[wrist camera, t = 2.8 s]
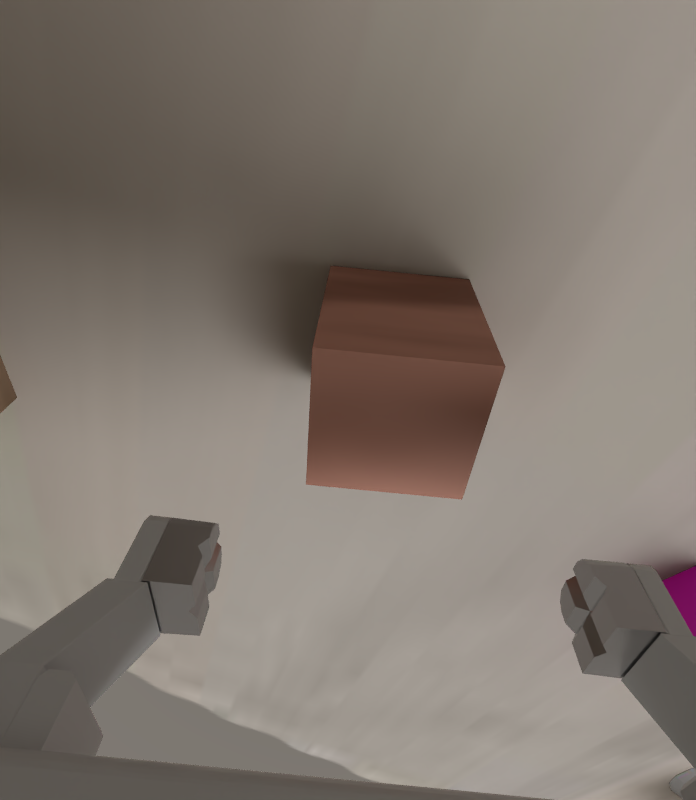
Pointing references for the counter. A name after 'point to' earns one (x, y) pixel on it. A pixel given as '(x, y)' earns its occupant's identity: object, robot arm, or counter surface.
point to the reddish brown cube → (399, 383)
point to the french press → (681, 780)
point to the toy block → (684, 595)
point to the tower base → (5, 388)
